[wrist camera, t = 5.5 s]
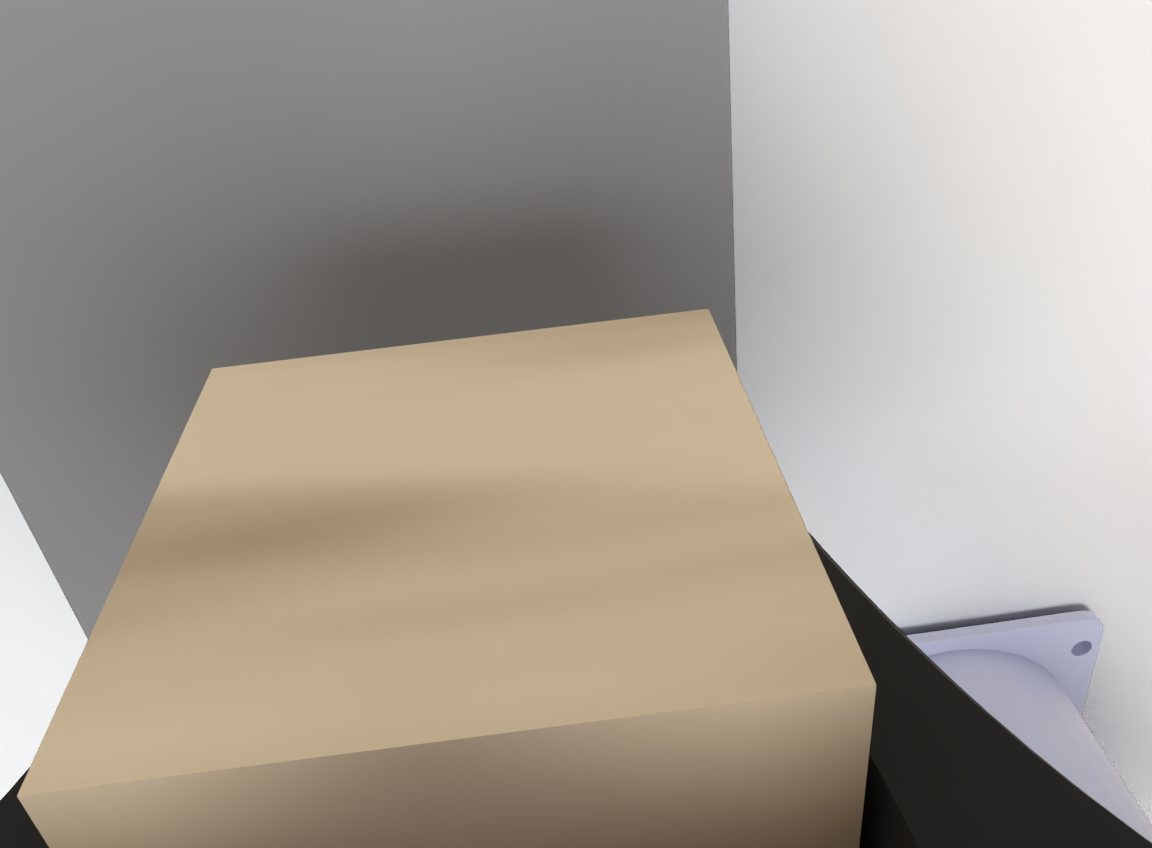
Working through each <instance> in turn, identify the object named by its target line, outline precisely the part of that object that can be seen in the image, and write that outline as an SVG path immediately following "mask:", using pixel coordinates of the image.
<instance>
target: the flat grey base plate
mask: <svg viewBox="0 0 1152 848" xmlns="http://www.w3.org/2000/svg"><path fill="white" fill-rule="evenodd" d="M702 309H709V311H710V313H711V316H712V318H713V320H714V322H715V325H716V327H717V329H718V331H719V334H720V336H721V338H722V340H723V343H724V345H725V347H726V349H727V352H728V354H729V356H730V358H731V360H732V363H733V365H734V367H735V369H736V372H737V363H736V320H735V276H734V233H733V189H732V146H731V103H730V59H729V16H728V0H0V473H1V475H2V477H3V479H4V480H5V482H6V484H7V486H8V488H9V490H10V492H11V494H12V496H13V498H14V499H15V501H16V503H17V505H18V507H19V509H20V511H21V513H22V515H23V517H24V519H25V520H26V522H27V524H28V526H29V528H30V530H31V532H32V534H33V536H34V538H35V539H36V541H37V543H38V545H39V547H40V549H41V551H42V553H43V555H44V557H45V559H46V560H47V562H48V564H49V566H50V568H51V570H52V572H53V574H54V576H55V578H56V579H57V581H58V583H59V585H60V587H61V589H62V591H63V593H64V595H65V597H66V598H67V600H68V602H69V604H70V606H71V608H72V610H73V612H74V614H75V616H76V618H77V619H78V621H79V623H80V625H81V627H82V629H83V631H84V633H85V635H86V637H87V638H88V639H89V637H90V635H91V633H92V630H93V628H94V626H95V624H96V622H97V620H98V617H99V615H100V613H101V611H102V609H103V606H104V604H105V602H106V600H107V598H108V595H109V593H110V591H111V589H112V587H113V584H114V582H115V580H116V578H117V576H118V574H119V571H120V569H121V567H122V565H123V563H124V560H125V558H126V556H127V554H128V552H129V549H130V547H131V545H132V543H133V541H134V538H135V536H136V534H137V532H138V530H139V528H140V525H141V523H142V521H143V519H144V517H145V514H146V512H147V510H148V508H149V506H150V503H151V501H152V499H153V497H154V495H155V492H156V490H157V488H158V486H159V484H160V482H161V479H162V477H163V475H164V473H165V471H166V468H167V466H168V464H169V462H170V460H171V457H172V455H173V453H174V451H175V449H176V446H177V444H178V442H179V440H180V438H181V436H182V433H183V431H184V429H185V427H186V425H187V422H188V420H189V418H190V416H191V414H192V411H193V409H194V407H195V405H196V403H197V400H198V398H199V396H200V394H201V392H202V390H203V387H204V385H205V383H206V381H207V379H208V376H209V374H210V372H211V370H212V369H213V368H221V367H230V366H238V365H246V364H255V363H263V362H271V361H279V360H288V359H296V358H304V357H313V356H321V355H329V354H338V353H346V352H354V351H362V350H371V349H379V348H387V347H396V346H404V345H412V344H420V343H429V342H437V341H445V340H454V339H462V338H470V337H478V336H487V335H495V334H503V333H512V332H520V331H528V330H536V329H545V328H553V327H561V326H570V325H578V324H586V323H594V322H603V321H611V320H619V319H628V318H636V317H644V316H653V315H661V314H669V313H677V312H686V311H694V310H702Z"/></svg>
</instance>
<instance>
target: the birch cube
mask: <svg viewBox="0 0 1152 848" xmlns="http://www.w3.org/2000/svg"><path fill="white" fill-rule="evenodd" d="M875 694H876V683H875V681H874V678H873V676H872V674H871V672H870V669H869V667H868V665H867V663H866V660H865V658H864V656H863V654H862V651H861V649H860V647H859V645H858V642H857V640H856V638H855V636H854V634H853V631H852V629H851V627H850V625H849V622H848V620H847V618H846V616H845V613H844V611H843V609H842V607H841V604H840V602H839V600H838V598H837V595H836V593H835V591H834V589H833V587H832V584H831V582H830V580H829V578H828V575H827V573H826V571H825V569H824V566H823V564H822V562H821V560H820V557H819V555H818V553H817V551H816V548H815V546H814V544H813V542H812V540H811V537H810V535H809V533H808V531H807V528H806V526H805V524H804V522H803V519H802V517H801V515H800V513H799V510H798V508H797V506H796V504H795V501H794V499H793V497H792V495H791V493H790V490H789V488H788V486H787V484H786V481H785V479H784V477H783V475H782V472H781V470H780V468H779V466H778V463H777V461H776V459H775V457H774V454H773V452H772V450H771V448H770V446H769V443H768V441H767V439H766V437H765V434H764V432H763V430H762V428H761V425H760V423H759V421H758V419H757V416H756V414H755V412H754V410H753V407H752V405H751V403H750V401H749V399H748V396H747V394H746V392H745V390H744V387H743V385H742V383H741V381H740V378H739V376H738V374H737V372H736V369H735V367H734V365H733V363H732V360H731V358H730V356H729V354H728V352H727V349H726V347H725V345H724V343H723V340H722V338H721V336H720V334H719V331H718V329H717V327H716V325H715V322H714V320H713V318H712V316H711V313H710V311H709V309H702V310H694V311H686V312H677V313H669V314H661V315H653V316H644V317H636V318H628V319H619V320H611V321H603V322H594V323H586V324H578V325H570V326H561V327H553V328H545V329H536V330H528V331H520V332H512V333H503V334H495V335H487V336H478V337H470V338H462V339H454V340H445V341H437V342H429V343H420V344H412V345H404V346H396V347H387V348H379V349H371V350H362V351H354V352H346V353H338V354H329V355H321V356H313V357H304V358H296V359H288V360H279V361H271V362H263V363H255V364H246V365H238V366H230V367H221V368H213V369H212V370H211V372H210V374H209V376H208V379H207V381H206V383H205V385H204V387H203V390H202V392H201V394H200V396H199V398H198V400H197V403H196V405H195V407H194V409H193V411H192V414H191V416H190V418H189V420H188V422H187V425H186V427H185V429H184V431H183V433H182V436H181V438H180V440H179V442H178V444H177V446H176V449H175V451H174V453H173V455H172V457H171V460H170V462H169V464H168V466H167V468H166V471H165V473H164V475H163V477H162V479H161V482H160V484H159V486H158V488H157V490H156V492H155V495H154V497H153V499H152V501H151V503H150V506H149V508H148V510H147V512H146V514H145V517H144V519H143V521H142V523H141V525H140V528H139V530H138V532H137V534H136V536H135V538H134V541H133V543H132V545H131V547H130V549H129V552H128V554H127V556H126V558H125V560H124V563H123V565H122V567H121V569H120V571H119V574H118V576H117V578H116V580H115V582H114V584H113V587H112V589H111V591H110V593H109V595H108V598H107V600H106V602H105V604H104V606H103V609H102V611H101V613H100V615H99V617H98V620H97V622H96V624H95V626H94V628H93V630H92V633H91V635H90V637H89V639H88V641H87V644H86V646H85V648H84V650H83V652H82V655H81V657H80V659H79V661H78V663H77V665H76V668H75V670H74V672H73V674H72V676H71V679H70V681H69V683H68V685H67V687H66V690H65V692H64V694H63V696H62V698H61V701H60V703H59V705H58V707H57V709H56V711H55V714H54V716H53V718H52V720H51V722H50V725H49V727H48V729H47V731H46V733H45V736H44V738H43V740H42V742H41V744H40V747H39V749H38V751H37V753H36V755H35V757H34V760H33V762H32V764H31V766H30V768H29V771H28V773H27V775H26V777H25V779H24V782H23V784H22V786H21V788H20V790H19V793H18V795H17V797H18V799H19V800H20V802H21V804H22V805H23V807H24V808H25V810H26V812H27V813H28V815H29V816H30V818H31V819H32V821H33V823H34V824H35V826H36V827H37V829H38V831H39V832H40V834H41V835H42V837H43V839H44V840H45V842H46V843H47V845H48V846H49V848H859V843H860V834H861V825H862V815H863V806H864V797H865V787H866V778H867V769H868V759H869V750H870V741H871V731H872V722H873V713H874V703H875Z"/></svg>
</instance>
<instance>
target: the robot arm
mask: <svg viewBox="0 0 1152 848" xmlns="http://www.w3.org/2000/svg"><path fill="white" fill-rule="evenodd" d="M808 533H809V532H808ZM809 535H810V537H811V540H812V542H813V544H814V546H815V548H816V551H817V553H818V555H819V557H820V560H821V562H822V564H823V566H824V569H825V571H826V573H827V575H828V578H829V580H830V582H831V584H832V587H833V589H834V591H835V593H836V595H837V598H838V600H839V602H840V604H841V607H842V609H843V611H844V613H845V616H846V618H847V620H848V622H849V625H850V627H851V629H852V631H853V634H854V636H855V638H856V640H857V642H858V645H859V647H860V649H861V651H862V654H863V656H864V658H865V660H866V663H867V665H868V667H869V669H870V672H871V674H872V676H873V678H874V681H875V683H876V694H875V703H874V713H873V722H872V731H871V741H870V750H869V759H868V769H867V778H866V787H865V797H864V806H863V815H862V825H861V834H860V843H859V848H1152V824H1151V822H1150V821H1149V819H1148V818H1147V816H1146V815H1145V813H1144V812H1143V810H1142V809H1141V807H1140V806H1139V804H1138V803H1137V801H1136V800H1135V798H1134V797H1133V795H1132V793H1131V792H1130V790H1129V789H1128V787H1127V786H1126V784H1125V783H1124V781H1123V780H1122V778H1121V777H1120V775H1119V774H1118V772H1117V771H1116V769H1115V768H1114V766H1113V764H1112V763H1111V761H1110V760H1109V758H1108V757H1107V755H1106V754H1105V752H1104V751H1103V749H1102V748H1101V746H1100V745H1099V743H1098V742H1097V740H1096V739H1095V737H1094V735H1093V734H1092V732H1091V731H1090V729H1089V728H1088V726H1087V725H1086V723H1085V722H1084V720H1083V719H1082V713H1083V709H1084V705H1085V701H1086V697H1087V693H1088V689H1089V685H1090V681H1091V677H1092V673H1093V669H1094V665H1095V661H1096V657H1097V653H1098V649H1099V645H1100V641H1101V637H1102V633H1103V624H1102V623H1101V622H1100V620H1099V619H1098V618H1097V616H1096V615H1095V614H1094V613H1093V612H1091V611H1074V612H1067V613H1060V614H1053V615H1046V616H1039V617H1031V618H1024V619H1017V620H1010V621H1003V622H996V623H989V624H982V625H975V626H968V627H961V628H954V629H947V630H940V631H933V632H926V633H919V634H912V635H905V634H904V633H903V632H902V631H901V630H900V629H899V628H898V627H897V626H896V625H895V624H894V623H893V622H892V621H891V620H890V619H889V618H888V617H887V616H886V615H885V614H884V613H883V612H882V611H881V610H880V609H879V608H878V607H877V606H876V604H875V603H874V602H873V601H872V600H871V599H870V598H869V597H868V596H867V595H866V594H865V593H864V592H863V591H862V590H861V589H860V588H859V587H858V586H857V585H856V584H855V583H854V581H853V580H852V579H851V578H850V577H849V576H848V575H847V574H846V573H845V572H844V571H843V570H842V569H841V567H840V566H839V565H838V564H837V563H836V562H835V561H834V560H833V559H832V558H831V557H830V555H829V554H828V553H827V552H826V551H825V550H824V549H823V548H822V547H821V545H820V544H819V543H818V542H817V541H816V540H815V539H814V538H813V536H812V535H811V534H810V533H809ZM29 768H30V767H29ZM28 771H29V769H28V770H27V771H26V772H25V773H24V774H23V776H22V777H21V778H20V779H19V780H18V781H17V783H16V784H15V785H14V786H13V787H12V788H11V789H10V791H9V792H8V793H7V794H6V795H5V796H4V797H3V798H2V799H1V800H0V848H49V846H48V845H47V843H46V842H45V840H44V839H43V837H42V835H41V834H40V832H39V831H38V829H37V827H36V826H35V824H34V823H33V821H32V819H31V818H30V816H29V815H28V813H27V812H26V810H25V808H24V807H23V805H22V804H21V802H20V800H19V799H18V797H17V795H18V793H19V790H20V788H21V786H22V784H23V782H24V779H25V777H26V775H27V773H28Z"/></svg>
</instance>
